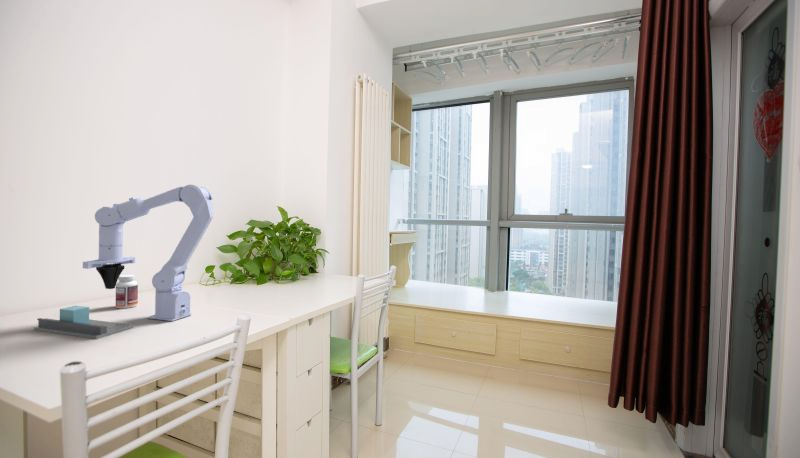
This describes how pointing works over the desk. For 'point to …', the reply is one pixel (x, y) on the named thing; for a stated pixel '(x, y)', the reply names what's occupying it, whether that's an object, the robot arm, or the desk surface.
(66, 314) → the block
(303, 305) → the desk surface
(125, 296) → the pill bottle
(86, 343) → the desk surface
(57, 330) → the rail board
